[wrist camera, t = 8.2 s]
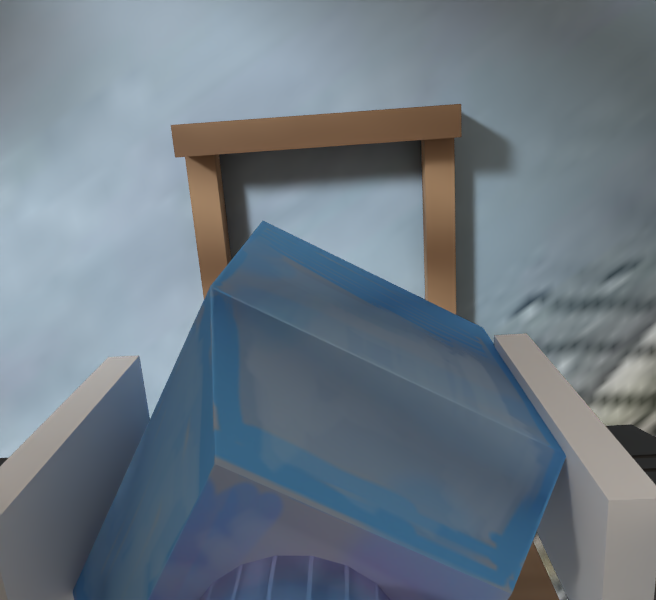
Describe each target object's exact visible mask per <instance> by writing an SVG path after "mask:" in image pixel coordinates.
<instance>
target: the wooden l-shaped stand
mask: <svg viewBox="0 0 656 600" xmlns="http://www.w3.org/2000/svg"><path fill="white" fill-rule="evenodd" d="M171 130H172V138H173V145H174V152H175V157H185V160H186V167H187V175H188V182H189V190H190V198H191V205H192V213H193V220H194V228H195V235H196V243H197V250H198V258H199V265H200V273H201V280H202V288H203V295H204V299H205V297H206V295H207V292H208V290H209V288H210V286H211V285H212V283H213V282H214V281H215V280H216V278H217V277H218V276H219V275H220V274H221V272H222V271H223V270H224V269H225V267H226V266H227V265H228V264H229V262H230V261H231V253H230V244H229V236H228V227H227V219H226V210H225V202H224V193H223V185H222V176H221V168H220V159H219V154H231V153H245V152H259V151H273V150H287V149H301V148H315V147H329V146H343V145H357V144H372V143H386V142H400V141H414V140H421V153H422V191H423V230H424V269H425V300H427V301H429V302H431V303H433V304H435V305H437V306H439V307H441V308H443V309H445V310H447V311H449V312H451V313H453V314H455V315H456V254H455V162H454V138H456V137H461V104H454V105H440V106H426V107H413V108H399V109H385V110H372V111H358V112H344V113H330V114H317V115H303V116H289V117H276V118H262V119H248V120H235V121H221V122H207V123H193V124H180V125H171ZM508 600H559V598H558V596H557V593H556V591H555V589H554V587H553V585H552V582H551V580H550V578H549V576H548V574H547V571H546V569H545V567H544V565H543V562H542V560H541V558H540V556H539V554H538V551H537V549H536V547H535V545H534V543H533V541H532V544H531V547H530V549H529V552H528V554H527V557H526V559H525V562H524V564H523V567H522V569H521V572H520V574H519V577H518V579H517V582H516V584H515V587H514V589H513V592H512V594H511V596H510V597H509V598H508Z"/></svg>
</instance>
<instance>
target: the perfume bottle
mask: <svg viewBox="0 0 656 600" xmlns="http://www.w3.org/2000/svg"><path fill="white" fill-rule="evenodd" d="M565 458H566V455H565V453H564V451H563V450H562V448H561V447H560V445H559V444H558V442H557V441H556V439H555V438H554V436H553V434H552V433H551V431H550V430H549V428H548V427H547V425H546V424H545V422H544V421H543V419H542V418H541V416H540V415H539V413H538V412H537V410H536V409H535V407H534V406H533V404H532V403H531V401H530V400H529V398H528V397H527V395H526V394H525V392H524V391H523V389H522V388H521V386H520V384H519V383H518V381H517V380H516V378H515V377H514V375H513V374H512V372H511V371H510V369H509V368H508V366H507V365H506V363H505V362H504V360H503V359H502V357H501V356H500V354H499V353H498V351H497V350H496V348H495V347H494V344H493V342H492V341H491V339H490V338H489V336H488V335H487V333H486V332H485V330H484V329H483V328H482V327H480V326H478V325H476V324H474V323H472V322H470V321H468V320H466V319H464V318H462V317H460V316H458V315H455V314H453V313H451V312H449V311H447V310H445V309H443V308H441V307H439V306H437V305H435V304H433V303H431V302H429V301H427V300H425V299H423V298H421V297H419V296H417V295H414V294H412V293H410V292H408V291H406V290H404V289H402V288H400V287H398V286H396V285H394V284H392V283H390V282H388V281H386V280H384V279H382V278H380V277H378V276H375V275H373V274H371V273H369V272H367V271H365V270H363V269H361V268H359V267H357V266H355V265H353V264H351V263H349V262H347V261H345V260H343V259H341V258H339V257H336V256H334V255H332V254H330V253H328V252H326V251H324V250H322V249H320V248H318V247H316V246H314V245H312V244H310V243H308V242H306V241H304V240H302V239H300V238H297V237H295V236H293V235H291V234H289V233H287V232H285V231H283V230H281V229H279V228H277V227H275V226H273V225H271V224H269V223H267V222H265V221H262V222H261V224H260V225H259V226H258V227H257V229H256V230H255V231H254V232H253V234H252V235H251V236H250V237H249V239H248V240H247V241H246V242H245V244H244V245H243V246H242V247H241V249H240V250H239V251H238V252H237V254H236V255H235V256H234V257H233V259H232V260H231V261H230V262H229V264H228V265H227V266H226V267H225V269H224V270H223V271H222V272H221V274H220V275H219V276H218V277H217V278H216V280H215V281H214V282H213V283H212V285H211V286H210V288H209V290H208V292H207V295H206V297H205V299H204V301H203V303H202V306H201V308H200V310H199V312H198V314H197V317H196V319H195V321H194V323H193V326H192V328H191V330H190V332H189V334H188V337H187V339H186V341H185V343H184V345H183V348H182V350H181V352H180V354H179V357H178V359H177V361H176V363H175V365H174V368H173V370H172V372H171V374H170V376H169V379H168V381H167V383H166V385H165V388H164V390H163V392H162V394H161V396H160V399H159V401H158V403H157V405H156V407H155V410H154V412H153V414H152V416H151V419H150V421H149V423H148V425H147V427H146V430H145V432H144V434H143V436H142V438H141V441H140V443H139V445H138V447H137V449H136V452H135V454H134V456H133V458H132V461H131V463H130V465H129V467H128V469H127V472H126V474H125V476H124V478H123V480H122V483H121V485H120V487H119V489H118V492H117V494H116V496H115V498H114V500H113V503H112V505H111V507H110V509H109V511H108V514H107V516H106V518H105V520H104V523H103V525H102V527H101V529H100V531H99V534H98V536H97V538H96V540H95V542H94V545H93V547H92V549H91V551H90V554H89V556H88V558H87V560H86V562H85V565H84V567H83V569H82V571H81V573H80V576H79V578H78V580H77V582H76V585H75V587H74V589H73V597H74V600H508V598H509V597H510V596H511V594H512V592H513V589H514V587H515V584H516V582H517V579H518V577H519V574H520V572H521V569H522V567H523V564H524V562H525V559H526V557H527V554H528V552H529V549H530V547H531V544H532V541H533V539H534V536H535V534H536V531H537V529H538V526H539V524H540V521H541V519H542V516H543V514H544V511H545V509H546V506H547V504H548V501H549V499H550V496H551V494H552V491H553V489H554V486H555V484H556V481H557V479H558V476H559V474H560V471H561V469H562V466H563V464H564V461H565Z"/></svg>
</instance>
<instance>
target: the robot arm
mask: <svg viewBox="0 0 656 600" xmlns="http://www.w3.org/2000/svg"><path fill="white" fill-rule="evenodd" d="M494 347H495V348H496V350H497V351H498V353H499V354H500V356H501V357H502V359H503V360H504V362H505V363H506V365H507V366H508V368H509V369H510V371H511V372H512V374H513V375H514V377H515V378H516V380H517V381H518V383H519V384H520V386H521V388H522V389H523V391H524V392H525V394H526V395H527V397H528V398H529V400H530V401H531V403H532V404H533V406H534V407H535V409H536V410H537V412H538V413H539V415H540V416H541V418H542V419H543V421H544V422H545V424H546V425H547V427H548V428H549V430H550V431H551V433H552V434H553V436H554V438H555V439H556V441H557V442H558V444H559V445H560V447H561V448H562V450H563V451H564V453H565V455H566V458H565V461H564V464H563V466H562V469H561V471H560V474H559V476H558V479H557V481H556V484H555V486H554V489H553V491H552V494H551V496H550V499H549V501H548V504H547V506H546V509H545V511H544V514H543V516H542V519H541V521H540V524H539V526H538V529H537V533H538V535H539V538H540V540H541V542H542V544H543V546H544V548H545V550H546V553H547V555H548V557H549V559H550V561H551V563H552V565H553V568H554V570H555V572H556V574H557V576H558V578H559V580H560V583H561V585H562V587H563V589H564V591H565V593H566V595H567V598H568V600H656V437H654V436H652V435H650V434H648V433H646V432H644V431H642V430H641V429H639V428H637V427H635V426H633V425H615V426H605V425H604V424H603V423H602V421H601V420H600V419H599V418H598V417H597V416H596V414H595V413H594V412H593V411H592V410H591V408H590V407H589V406H588V405H587V404H586V403H585V401H584V400H583V399H582V398H581V397H580V396H579V394H578V393H577V392H576V391H575V390H574V389H573V387H572V386H571V385H570V384H569V383H568V381H567V380H566V379H565V378H564V377H563V376H562V374H561V373H560V372H559V371H558V370H557V369H556V367H555V366H554V365H553V364H552V363H551V362H550V360H549V359H548V358H547V357H546V356H545V354H544V353H543V352H542V351H541V350H540V349H539V347H538V346H537V345H536V344H535V343H534V342H533V340H532V339H531V338H530V337H529V336H528V335H527V334H509V335H494ZM149 421H150V417H149V411H148V405H147V399H146V393H145V387H144V381H143V375H142V369H141V363H140V357H139V356H122V357H108V358H107V359H106V360H105V361H104V362H103V363H102V364H101V365H100V366H99V367H98V368H97V369H96V370H95V371H94V372H93V373H92V374H91V375H90V376H89V377H88V378H87V379H86V380H85V381H84V382H83V383H82V384H81V385H80V386H79V387H78V388H77V389H76V390H75V391H74V392H73V393H72V395H71V396H70V397H69V398H68V399H67V400H66V401H65V402H64V403H63V404H62V405H61V406H60V407H59V408H58V409H57V410H56V411H55V412H54V413H53V414H52V415H51V416H50V417H49V418H48V419H47V420H46V421H45V422H44V423H43V424H42V425H41V426H40V427H39V428H38V429H37V430H36V431H35V432H34V433H33V434H32V435H31V436H30V437H29V438H28V439H27V440H26V441H25V442H24V443H23V444H22V445H21V446H20V447H19V448H18V449H17V450H16V451H15V452H14V453H13V454H12V455H11V456H10V457H9V458H0V600H74V597H73V589H74V587H75V585H76V582H77V580H78V578H79V576H80V573H81V571H82V569H83V567H84V565H85V562H86V560H87V558H88V556H89V554H90V551H91V549H92V547H93V545H94V542H95V540H96V538H97V536H98V534H99V531H100V529H101V527H102V525H103V523H104V520H105V518H106V516H107V514H108V511H109V509H110V507H111V505H112V503H113V500H114V498H115V496H116V494H117V492H118V489H119V487H120V485H121V483H122V480H123V478H124V476H125V474H126V472H127V469H128V467H129V465H130V463H131V461H132V458H133V456H134V454H135V452H136V449H137V447H138V445H139V443H140V441H141V438H142V436H143V434H144V432H145V430H146V427H147V425H148V423H149Z"/></svg>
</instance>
